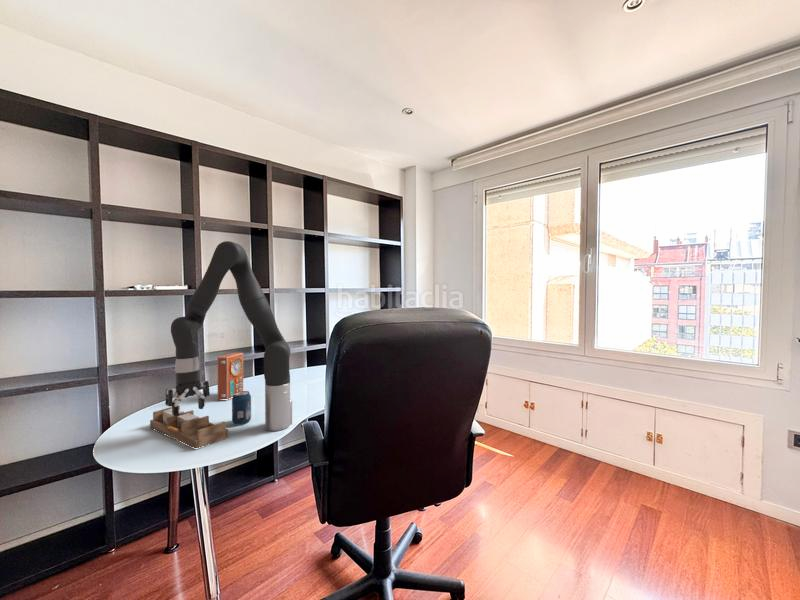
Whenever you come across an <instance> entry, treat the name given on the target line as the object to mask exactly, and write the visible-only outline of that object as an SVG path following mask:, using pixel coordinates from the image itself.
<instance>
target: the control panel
mask: <svg viewBox="0 0 800 600" xmlns="http://www.w3.org/2000/svg"><path fill="white" fill-rule="evenodd" d="M240 391H244V353H243V352H231V353H228V354H227V353H226V354H224V355H220V356H218V357H217V400H218V399H229V398H231V397H233V396H234V393H236V392H240Z"/></svg>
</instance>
